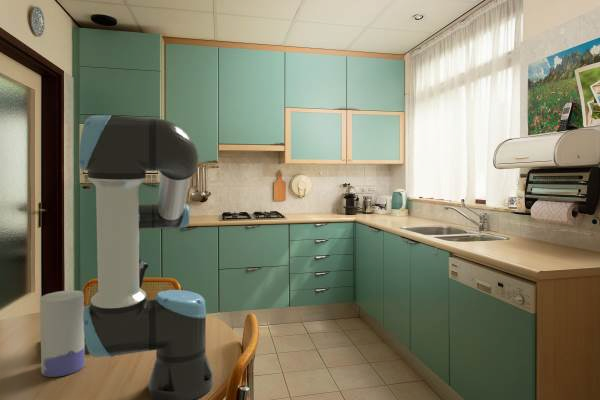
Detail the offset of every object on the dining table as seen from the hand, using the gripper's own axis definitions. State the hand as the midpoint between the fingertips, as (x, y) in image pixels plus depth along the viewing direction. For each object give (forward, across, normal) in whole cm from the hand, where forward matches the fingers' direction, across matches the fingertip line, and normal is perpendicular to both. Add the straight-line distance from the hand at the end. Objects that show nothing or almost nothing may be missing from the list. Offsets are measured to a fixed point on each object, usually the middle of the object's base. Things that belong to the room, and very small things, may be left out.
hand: (127, 315), depth 130 cm
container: (+7, +19, +16) cm, 26 cm away
